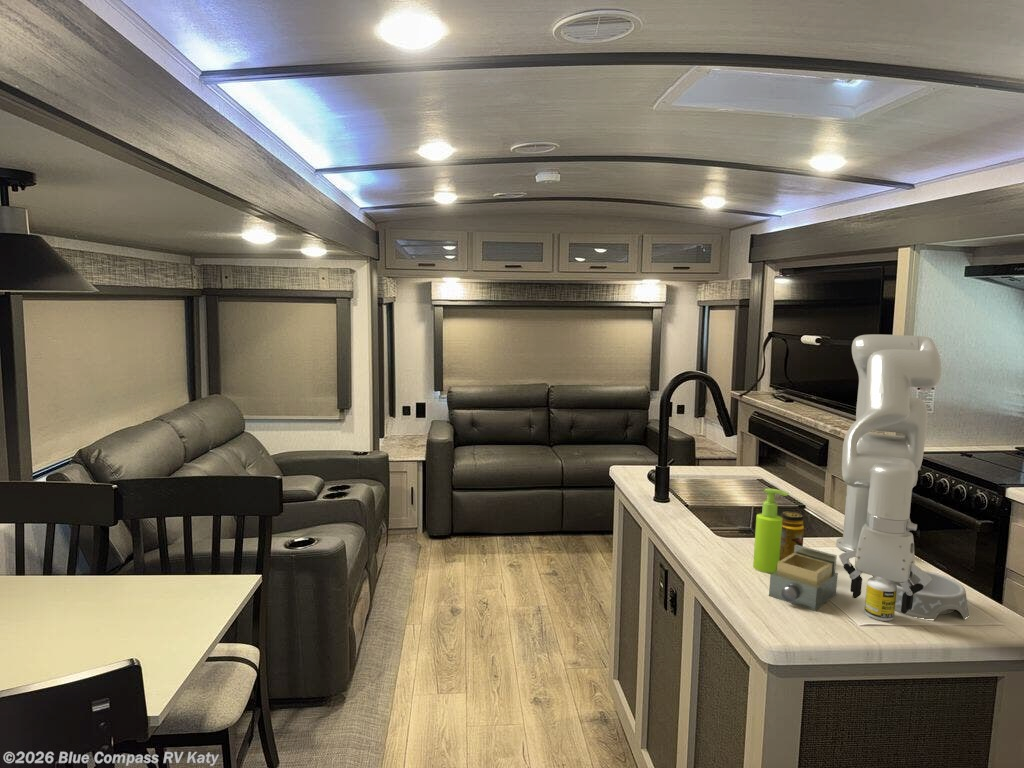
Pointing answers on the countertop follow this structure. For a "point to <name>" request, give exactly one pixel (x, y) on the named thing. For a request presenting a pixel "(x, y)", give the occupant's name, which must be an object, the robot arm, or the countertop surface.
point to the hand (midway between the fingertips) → (880, 603)
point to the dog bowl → (935, 597)
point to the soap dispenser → (768, 534)
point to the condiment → (791, 533)
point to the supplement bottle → (880, 598)
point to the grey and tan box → (805, 578)
